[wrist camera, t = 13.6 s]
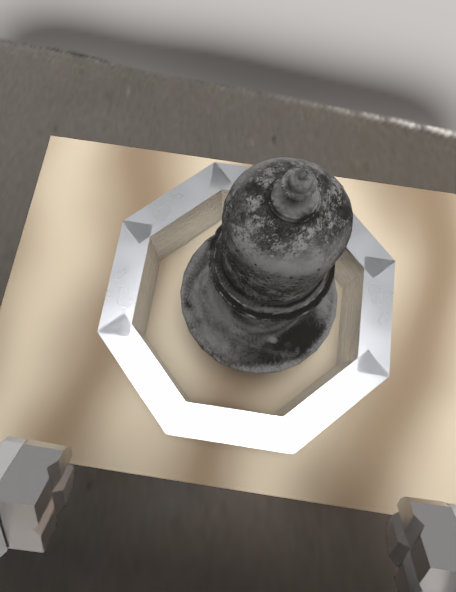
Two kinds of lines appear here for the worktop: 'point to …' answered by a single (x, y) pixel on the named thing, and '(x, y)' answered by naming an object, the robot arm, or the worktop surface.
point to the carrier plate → (206, 370)
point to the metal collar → (222, 420)
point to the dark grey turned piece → (269, 268)
